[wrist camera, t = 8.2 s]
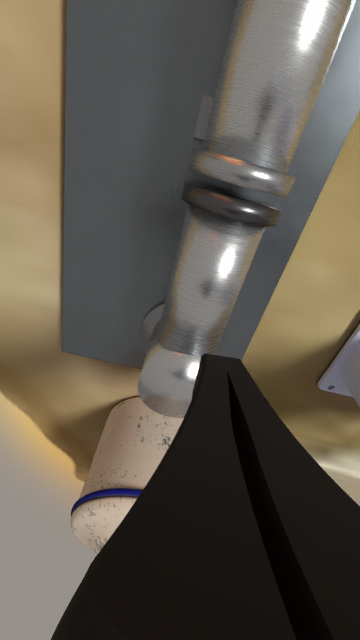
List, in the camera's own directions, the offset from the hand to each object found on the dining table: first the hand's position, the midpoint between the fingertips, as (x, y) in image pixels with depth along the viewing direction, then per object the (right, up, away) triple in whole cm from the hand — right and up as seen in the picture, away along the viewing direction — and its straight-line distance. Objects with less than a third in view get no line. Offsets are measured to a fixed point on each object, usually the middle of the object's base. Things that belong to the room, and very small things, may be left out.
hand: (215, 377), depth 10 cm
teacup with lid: (-3, -8, +17) cm, 19 cm away
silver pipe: (0, +4, +8) cm, 9 cm away
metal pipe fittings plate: (-1, +9, +7) cm, 11 cm away
